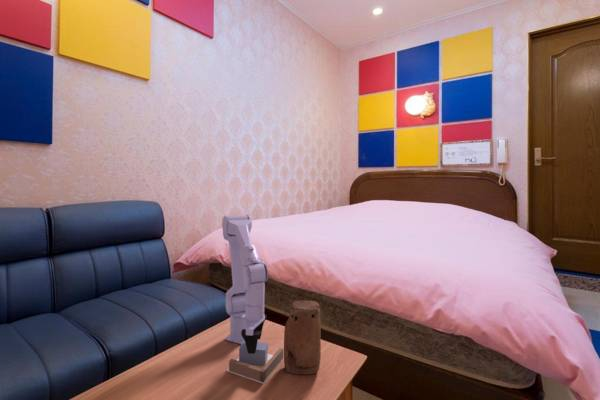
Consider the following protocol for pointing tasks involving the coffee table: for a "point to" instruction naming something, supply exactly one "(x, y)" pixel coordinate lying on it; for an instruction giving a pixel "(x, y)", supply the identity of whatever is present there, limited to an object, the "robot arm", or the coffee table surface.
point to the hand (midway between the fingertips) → (254, 345)
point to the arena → (256, 367)
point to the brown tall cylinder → (303, 338)
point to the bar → (256, 358)
